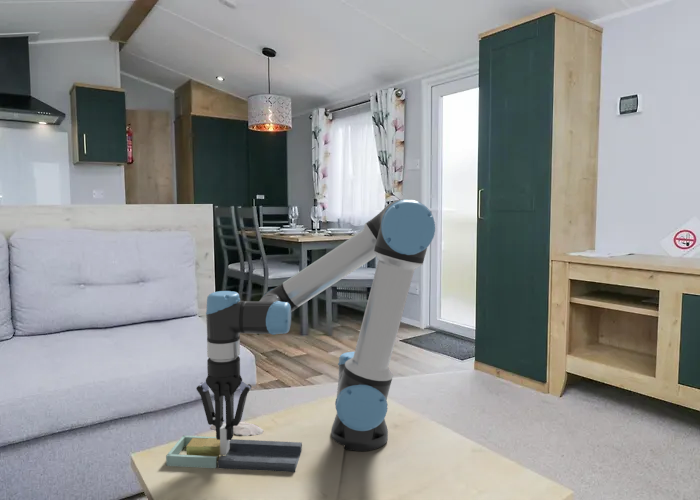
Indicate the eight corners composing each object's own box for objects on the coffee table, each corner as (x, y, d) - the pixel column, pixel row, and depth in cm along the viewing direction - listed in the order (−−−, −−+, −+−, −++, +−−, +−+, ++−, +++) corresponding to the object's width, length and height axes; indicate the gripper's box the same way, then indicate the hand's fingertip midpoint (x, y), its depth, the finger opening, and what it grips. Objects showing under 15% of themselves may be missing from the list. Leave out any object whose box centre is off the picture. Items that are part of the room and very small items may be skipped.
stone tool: (204, 438, 133) (260, 444, 132) (205, 427, 133) (260, 434, 132) (215, 422, 141) (267, 428, 140) (215, 412, 141) (268, 418, 140)
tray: (228, 450, 127) (228, 437, 126) (215, 472, 117) (215, 458, 116) (183, 448, 127) (182, 435, 127) (166, 469, 117) (166, 455, 117)
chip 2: (224, 454, 124) (224, 438, 123) (219, 462, 120) (219, 446, 119) (208, 453, 124) (208, 437, 123) (203, 461, 120) (202, 445, 119)
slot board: (301, 453, 125) (301, 442, 125) (294, 476, 116) (294, 463, 115) (230, 450, 127) (230, 439, 126) (218, 472, 117) (217, 459, 116)
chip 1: (208, 454, 124) (208, 438, 123) (203, 462, 120) (202, 446, 119) (192, 453, 124) (192, 438, 124) (186, 461, 120) (186, 446, 120)
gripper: (254, 352, 122) (255, 445, 125) (202, 351, 123) (204, 442, 125) (246, 363, 115) (247, 461, 117) (190, 361, 115) (192, 458, 118)
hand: (225, 451), depth 121 cm, fingers closed
